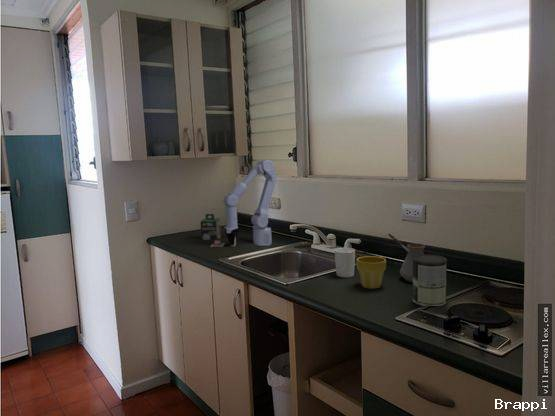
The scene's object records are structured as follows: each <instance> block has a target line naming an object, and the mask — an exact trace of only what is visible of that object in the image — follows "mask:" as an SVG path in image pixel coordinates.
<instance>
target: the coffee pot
mask: <svg viewBox="0 0 555 416" xmlns="http://www.w3.org/2000/svg"><path fill="white" fill-rule="evenodd" d="M388 236H389V237H388ZM385 237H386V238H387V239H389V238H390V239H392V240H393V241H394V242H395V243H396V244H397V245H399V246H400V247H402V248H403V249H404V250H405V251H406V252H407V254H406V257H405V259H404V261H403V262H402V265H401V267H400V270H399V274H400V276H401V277H402V278H403V279H404V280H405V281H407V282H409V283H413V257H414V256H417V255H425V252H424V249H425V248H426V245H425V244H421V243H411V244H410V243H409V244H407V245H406V246H405V245H404V244H403V243H402V242H401V241H400V240H399V239H398V238H396V237H395V236H394V235H392V234H391V233H388V234H387V235H386V236H385Z"/></svg>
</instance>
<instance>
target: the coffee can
mask: <svg viewBox="0 0 555 416" xmlns="http://www.w3.org/2000/svg"><path fill="white" fill-rule="evenodd" d="M447 262H448V258H446V257H445V256H441V255H438V254H424V255H417V256H414V257H413V282H412V302H413V303H415V304H416V305H419V306H423V307H428V306H438V307H442V306H445V305H446V303H447V267H448V266H447Z"/></svg>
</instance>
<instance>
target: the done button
mask: <svg viewBox="0 0 555 416" xmlns="http://www.w3.org/2000/svg"><path fill="white" fill-rule="evenodd" d="M214 243H215V245H221V243H222V241H221V240H220V239H217V240H214Z"/></svg>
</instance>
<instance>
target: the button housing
mask: <svg viewBox="0 0 555 416" xmlns="http://www.w3.org/2000/svg"><path fill="white" fill-rule="evenodd" d="M224 245H226V243H225V242H221V245H215V242H213V243H211V245H210V248H223V247H224Z"/></svg>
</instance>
